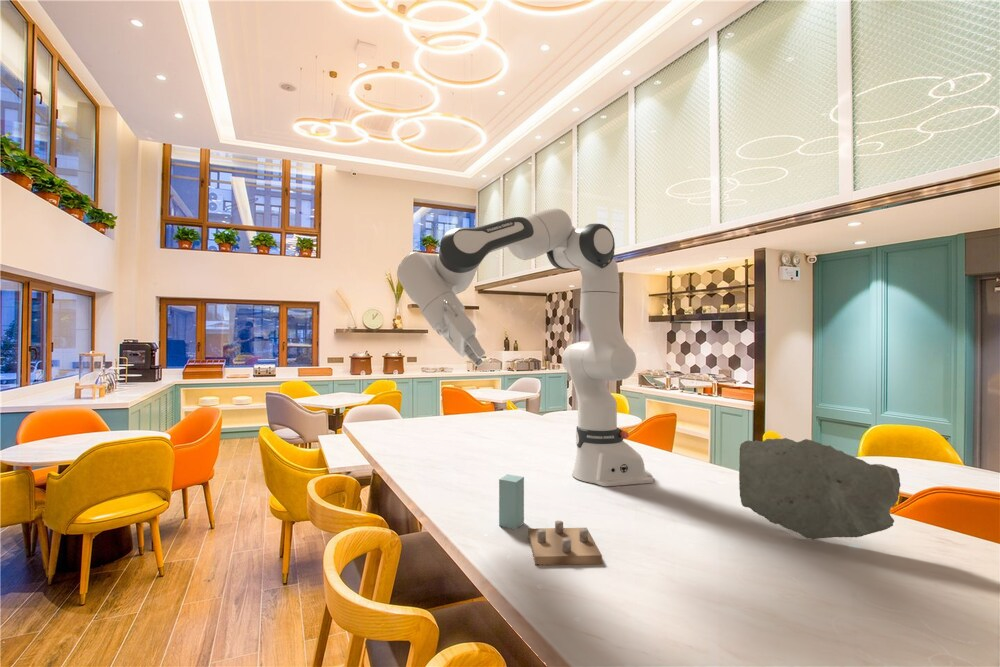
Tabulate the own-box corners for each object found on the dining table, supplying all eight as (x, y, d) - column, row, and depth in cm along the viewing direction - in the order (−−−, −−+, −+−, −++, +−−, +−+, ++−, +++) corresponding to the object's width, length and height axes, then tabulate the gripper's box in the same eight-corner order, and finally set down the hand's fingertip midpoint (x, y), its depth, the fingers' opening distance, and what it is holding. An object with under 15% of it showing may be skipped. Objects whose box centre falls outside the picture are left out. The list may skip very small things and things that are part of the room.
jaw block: (499, 526, 100) (499, 479, 100) (507, 519, 104) (507, 474, 104) (516, 529, 98) (516, 482, 98) (523, 522, 102) (523, 477, 102)
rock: (895, 547, 90) (895, 443, 90) (904, 561, 84) (904, 450, 84) (739, 521, 103) (739, 430, 103) (738, 531, 97) (738, 435, 97)
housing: (586, 534, 96) (586, 517, 96) (601, 563, 84) (601, 544, 84) (528, 535, 95) (528, 518, 95) (535, 565, 83) (535, 545, 83)
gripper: (456, 290, 99) (495, 341, 96) (456, 318, 118) (489, 361, 116) (431, 306, 97) (471, 359, 95) (436, 332, 117) (469, 376, 115)
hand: (481, 360), depth 106 cm, fingers open, 8 cm apart
